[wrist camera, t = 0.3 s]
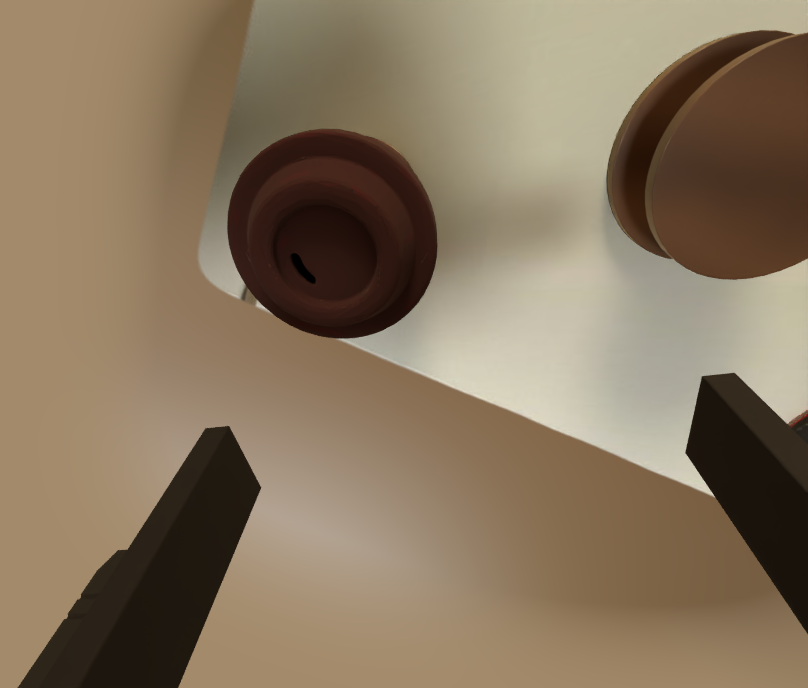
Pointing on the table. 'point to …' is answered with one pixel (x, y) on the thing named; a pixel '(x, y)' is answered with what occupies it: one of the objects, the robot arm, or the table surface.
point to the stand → (720, 158)
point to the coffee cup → (333, 233)
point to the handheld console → (801, 428)
